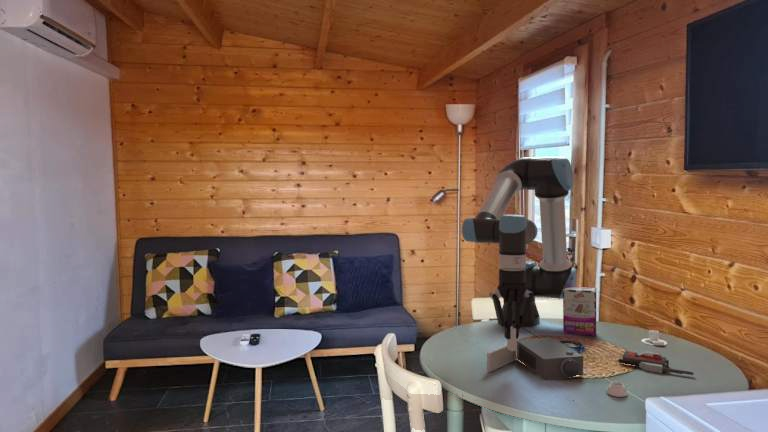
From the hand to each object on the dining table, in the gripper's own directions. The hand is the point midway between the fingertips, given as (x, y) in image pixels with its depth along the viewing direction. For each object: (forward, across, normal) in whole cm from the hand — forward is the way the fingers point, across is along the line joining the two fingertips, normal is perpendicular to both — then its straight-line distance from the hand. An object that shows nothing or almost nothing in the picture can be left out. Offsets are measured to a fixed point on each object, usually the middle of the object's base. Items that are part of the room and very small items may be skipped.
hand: (511, 349), depth 164 cm
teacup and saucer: (+7, +56, +16) cm, 59 cm away
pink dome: (+7, +20, -21) cm, 30 cm away
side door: (+7, 0, +6) cm, 9 cm away
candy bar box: (+6, +40, +32) cm, 52 cm away
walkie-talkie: (+7, +43, -6) cm, 44 cm away
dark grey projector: (+7, +12, +1) cm, 14 cm away
